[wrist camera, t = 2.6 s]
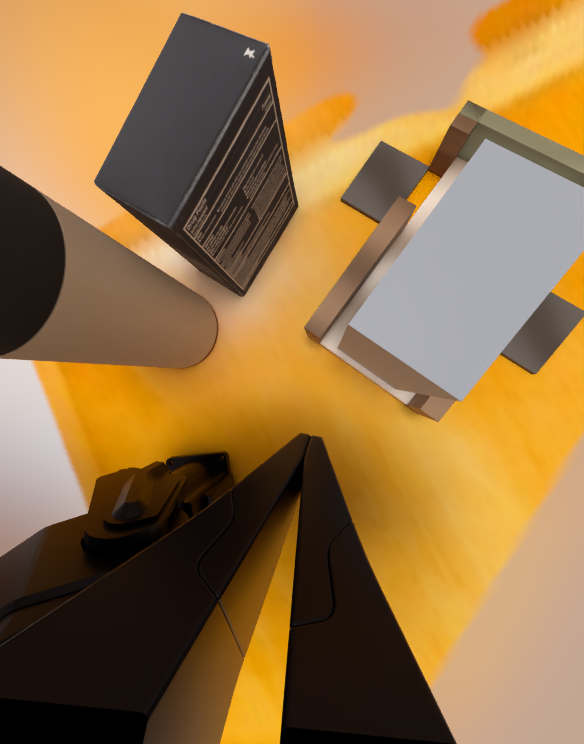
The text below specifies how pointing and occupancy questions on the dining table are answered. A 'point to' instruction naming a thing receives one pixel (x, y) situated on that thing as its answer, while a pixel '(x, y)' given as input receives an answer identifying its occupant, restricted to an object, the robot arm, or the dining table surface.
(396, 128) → the dining table surface
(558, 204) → the block
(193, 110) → the small box
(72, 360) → the travel mug
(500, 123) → the brown piece
